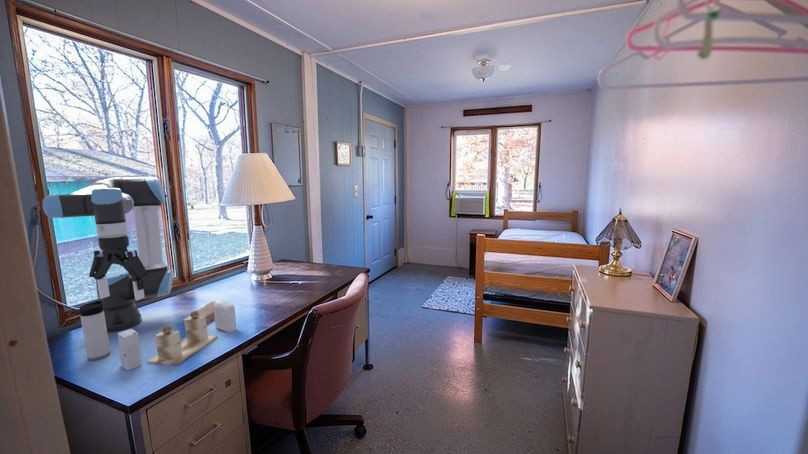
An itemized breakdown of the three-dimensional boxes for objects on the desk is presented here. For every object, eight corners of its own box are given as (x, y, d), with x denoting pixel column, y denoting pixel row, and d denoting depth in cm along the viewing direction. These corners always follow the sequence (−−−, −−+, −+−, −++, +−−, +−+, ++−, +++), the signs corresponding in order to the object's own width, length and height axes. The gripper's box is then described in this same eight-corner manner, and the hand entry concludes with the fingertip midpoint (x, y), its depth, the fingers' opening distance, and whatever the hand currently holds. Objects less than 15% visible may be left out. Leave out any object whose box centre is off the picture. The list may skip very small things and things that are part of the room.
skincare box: (120, 365, 118) (115, 333, 116) (136, 359, 121) (131, 328, 119) (127, 371, 114) (122, 337, 112) (143, 365, 118) (138, 332, 116)
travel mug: (115, 350, 128) (107, 300, 125) (100, 360, 121) (92, 307, 118) (98, 351, 127) (90, 300, 124) (82, 360, 121) (73, 307, 118)
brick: (206, 324, 150) (205, 314, 149) (188, 324, 150) (187, 314, 150) (229, 310, 166) (228, 301, 165) (213, 309, 167) (212, 300, 166)
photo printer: (238, 329, 144) (235, 301, 142) (228, 333, 141) (226, 305, 139) (223, 324, 149) (220, 297, 147) (214, 328, 146) (211, 300, 144)
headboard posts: (147, 363, 119) (142, 329, 117) (190, 336, 139) (187, 306, 137) (177, 365, 117) (173, 331, 115) (217, 337, 137) (214, 308, 135)
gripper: (68, 237, 109) (78, 300, 112) (135, 238, 105) (144, 303, 108) (92, 233, 116) (101, 292, 119) (156, 234, 112) (164, 295, 116)
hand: (122, 298), depth 114 cm, fingers open, 13 cm apart
